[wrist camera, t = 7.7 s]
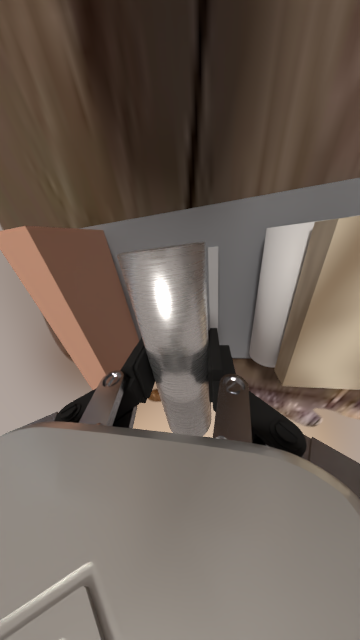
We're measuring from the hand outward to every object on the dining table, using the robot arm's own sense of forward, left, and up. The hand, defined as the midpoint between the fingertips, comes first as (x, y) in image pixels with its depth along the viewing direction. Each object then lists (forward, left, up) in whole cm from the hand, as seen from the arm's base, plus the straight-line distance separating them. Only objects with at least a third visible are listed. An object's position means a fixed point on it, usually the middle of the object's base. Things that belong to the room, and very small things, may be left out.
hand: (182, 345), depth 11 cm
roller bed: (-6, 0, -9) cm, 11 cm away
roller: (0, 0, 0) cm, 0 cm away
